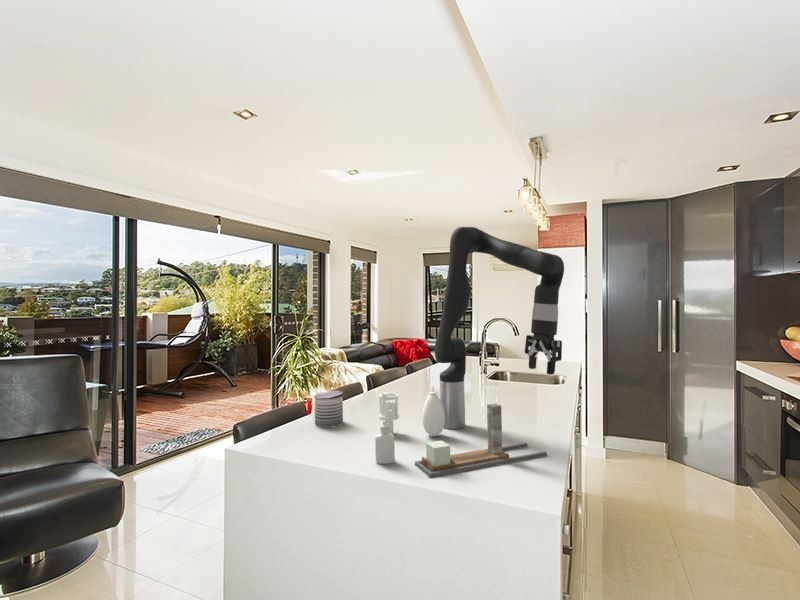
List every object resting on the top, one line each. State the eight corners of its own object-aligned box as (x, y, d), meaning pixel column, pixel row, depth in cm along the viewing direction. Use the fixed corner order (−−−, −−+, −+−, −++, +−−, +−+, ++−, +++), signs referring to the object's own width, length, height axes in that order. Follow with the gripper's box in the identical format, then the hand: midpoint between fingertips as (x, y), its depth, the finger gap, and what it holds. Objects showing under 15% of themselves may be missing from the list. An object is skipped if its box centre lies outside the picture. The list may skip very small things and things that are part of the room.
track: (414, 465, 124) (414, 461, 124) (525, 445, 138) (525, 442, 138) (429, 477, 114) (429, 473, 114) (547, 455, 129) (546, 452, 129)
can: (340, 427, 164) (340, 396, 164) (311, 427, 164) (310, 396, 164) (345, 419, 175) (344, 390, 176) (317, 419, 176) (317, 390, 176)
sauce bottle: (444, 440, 146) (442, 387, 146) (421, 439, 147) (420, 386, 148) (446, 433, 154) (445, 382, 154) (424, 432, 155) (423, 382, 155)
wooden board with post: (421, 465, 123) (420, 410, 123) (495, 452, 132) (494, 401, 132) (432, 473, 116) (431, 416, 117) (509, 459, 126) (508, 406, 126)
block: (426, 460, 122) (426, 442, 122) (442, 457, 124) (441, 440, 124) (434, 466, 118) (433, 448, 118) (450, 463, 120) (450, 445, 120)
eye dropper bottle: (379, 458, 130) (378, 418, 130) (396, 460, 128) (395, 420, 128) (373, 463, 126) (372, 422, 126) (391, 465, 124) (390, 423, 124)
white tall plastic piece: (375, 434, 153) (375, 392, 154) (385, 429, 160) (384, 389, 160) (393, 437, 150) (392, 394, 150) (402, 431, 156) (401, 390, 157)
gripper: (520, 316, 137) (516, 367, 137) (550, 320, 123) (546, 376, 124) (539, 317, 139) (536, 367, 140) (571, 321, 126) (567, 376, 126)
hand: (541, 371), depth 132 cm, fingers open, 8 cm apart
